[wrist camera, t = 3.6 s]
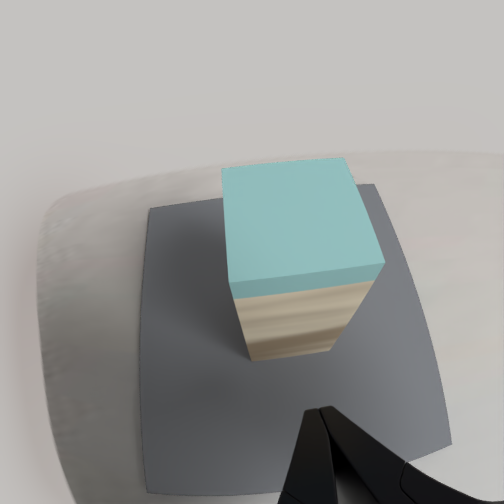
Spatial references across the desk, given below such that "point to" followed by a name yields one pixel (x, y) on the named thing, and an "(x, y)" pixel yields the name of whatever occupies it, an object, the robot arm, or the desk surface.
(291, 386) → the rubber mat
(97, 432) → the desk surface
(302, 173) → the birch block
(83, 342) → the desk surface
